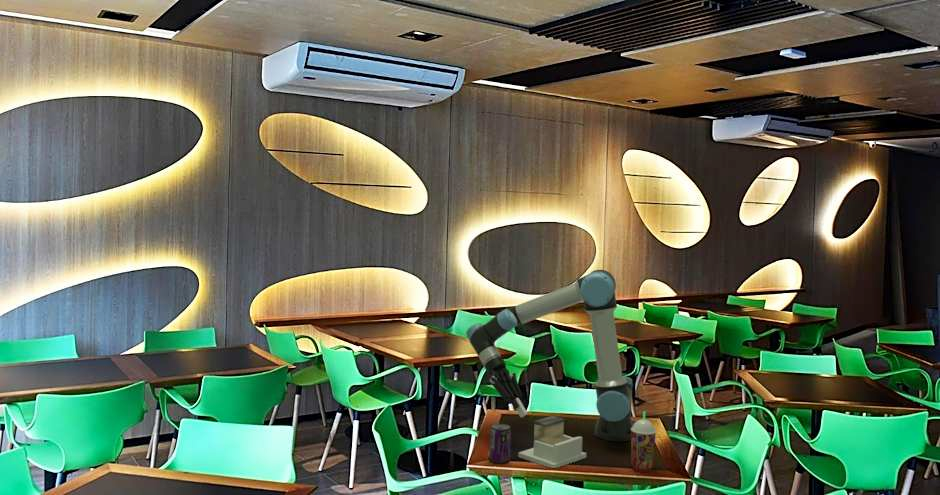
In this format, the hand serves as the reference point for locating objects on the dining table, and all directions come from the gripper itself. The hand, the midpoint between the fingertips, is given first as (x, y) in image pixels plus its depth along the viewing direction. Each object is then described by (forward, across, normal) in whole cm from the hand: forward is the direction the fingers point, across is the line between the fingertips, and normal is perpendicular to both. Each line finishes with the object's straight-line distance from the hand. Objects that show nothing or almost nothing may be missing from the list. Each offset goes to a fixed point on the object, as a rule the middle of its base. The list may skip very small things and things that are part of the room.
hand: (524, 415), depth 287 cm
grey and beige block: (+15, -1, +1) cm, 15 cm away
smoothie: (+37, -14, +21) cm, 45 cm away
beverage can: (+11, +16, -6) cm, 21 cm away
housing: (+18, -1, +1) cm, 18 cm away
